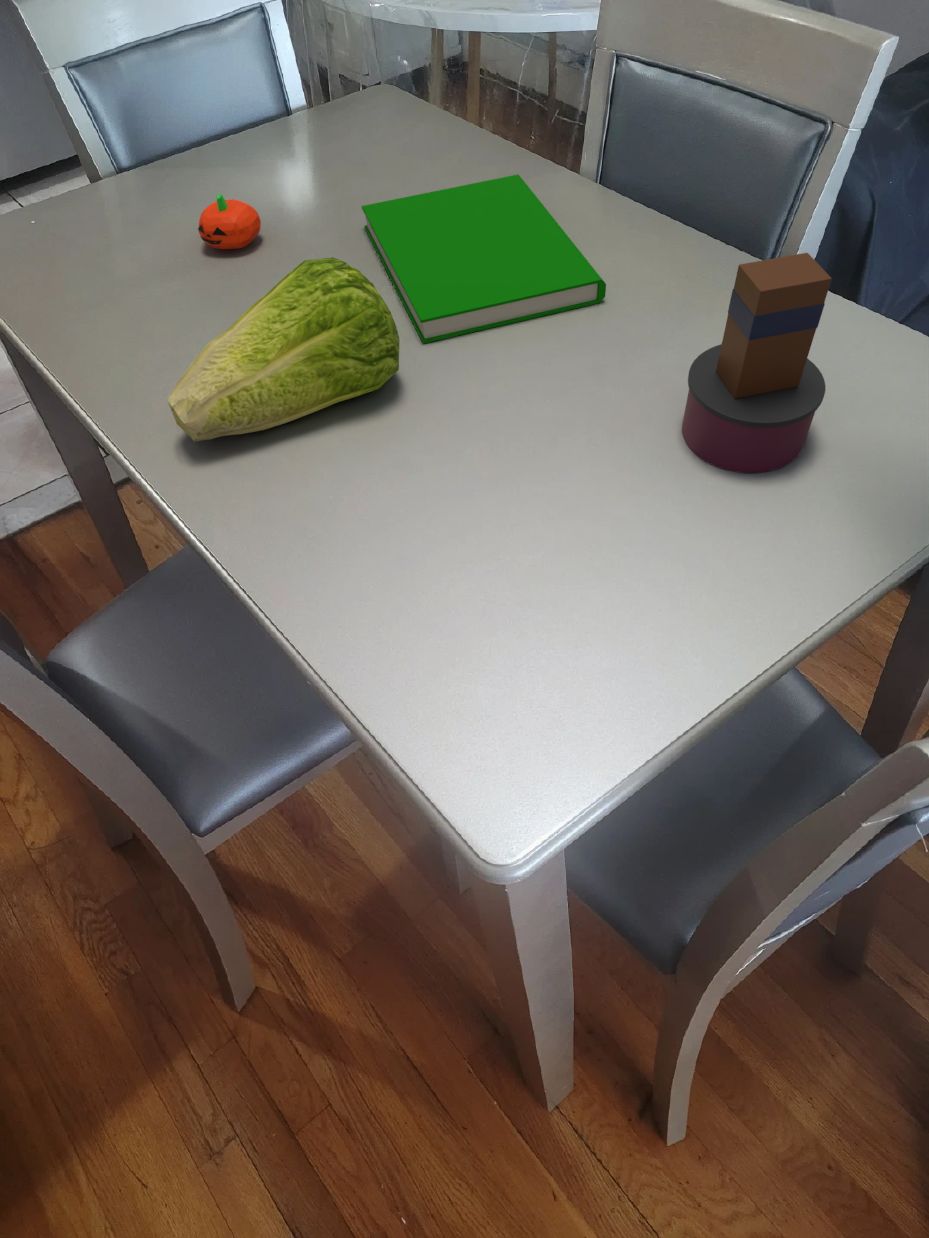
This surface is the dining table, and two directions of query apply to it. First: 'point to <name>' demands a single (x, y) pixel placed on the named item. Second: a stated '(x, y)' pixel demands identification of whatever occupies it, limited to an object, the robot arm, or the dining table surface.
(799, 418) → the lidded tub
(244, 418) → the lettuce
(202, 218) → the pumpkin
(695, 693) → the dining table surface
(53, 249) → the dining table surface
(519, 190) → the book
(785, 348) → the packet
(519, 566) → the dining table surface
